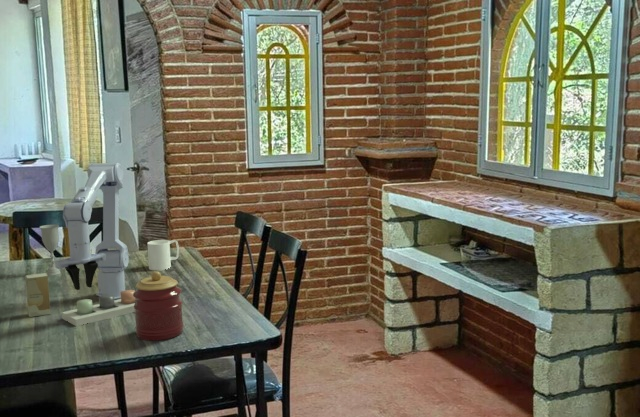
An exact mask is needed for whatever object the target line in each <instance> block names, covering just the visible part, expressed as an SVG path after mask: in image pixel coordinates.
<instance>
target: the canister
mask: <svg viewBox="0 0 640 417" xmlns="http://www.w3.org/2000/svg"><path fill="white" fill-rule="evenodd" d="M178 284H179V283H178V280H176V279H174V278H172V277H171V276H167V275H162V274H161V272H159V270H158V271H155V270H154V271H153V272H152V273H151V276H148V277H145V278H142V279H141V280H140V281H139V282H137V283H136V284H135V288H136V290H135V292H134V293H133V296H134V297H135V304H134V308H135V312H134V318H135V333H136V336H137V338H139V339H141V340H143V341H144V340H145V341H163V340H164V341H165V340H169V339H172V338H175V337H176V338H177V336H180V335H181V334H182V333H183V331H184V330H183V329H184V320H183V309H182V307H183V306H182V304H183V301H182V299H181V296H180V294H181V293H182V288H180V287H179V286H177V285H178Z"/></svg>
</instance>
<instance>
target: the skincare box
mask: <svg viewBox="0 0 640 417" xmlns="http://www.w3.org/2000/svg"><path fill="white" fill-rule="evenodd" d="M25 288H26V290H25V291H26V292H25V293H26V307H27V315H28V317H29V318H31V317H37V316H46V315H51V305H50V304H51V303H50V302H51V301H50V289H49V288H50V287H49V275H47V272H45V273H43V272H42V273H33V274H26V275H25Z"/></svg>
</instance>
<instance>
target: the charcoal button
mask: <svg viewBox="0 0 640 417" xmlns="http://www.w3.org/2000/svg"><path fill="white" fill-rule="evenodd" d="M114 300H115V299H114V295H111V294H108V295H102V296H100V297H99V296H98V302H99V303H98V304H100V308H101V309H109V308H113V307H115V302H114Z"/></svg>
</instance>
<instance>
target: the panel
mask: <svg viewBox="0 0 640 417" xmlns="http://www.w3.org/2000/svg"><path fill="white" fill-rule="evenodd" d="M114 302H115V307H113V308H109V309H101V308H100V304H99V303H97V304H92V306H93V312H91V313H88V314H78V313H77V308H75V309H71V310H70V309H69V310H66V311H63V312H62V311H61V317H62V320H64V321H66V322H67V321H68V323H70V324H71V325H73V326H75V327H80V326H84V325H88V324H92V323H97V322H101V321H104V320H105V321H106V320H108V319H112V318H117V317H121V316H124V315H129V314H133V313H135V308H134V304H135V302H134V303H130V304H123V303H121V298H118V299H114ZM87 323H88V324H87ZM83 324H84V325H83ZM79 325H80V326H79Z"/></svg>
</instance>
